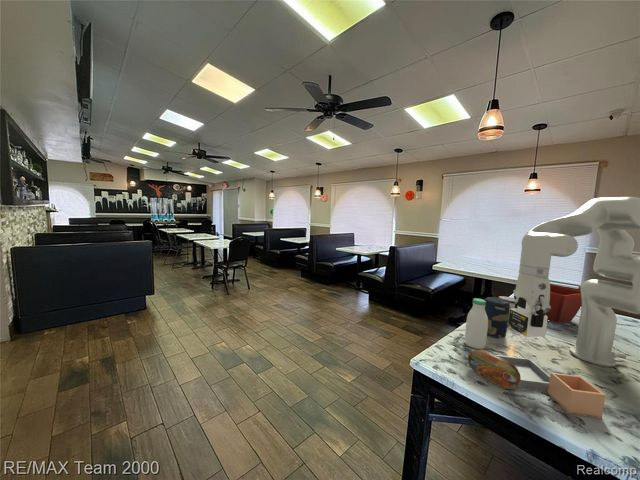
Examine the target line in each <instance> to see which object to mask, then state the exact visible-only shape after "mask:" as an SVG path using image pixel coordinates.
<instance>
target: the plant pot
mask: <svg viewBox="0 0 640 480" xmlns="http://www.w3.org/2000/svg"><path fill="white" fill-rule="evenodd" d="M549 305H550V307H551V309H550V310H549V311H548V313H547V314H546V316H547V317H548V319H547V321H548V320H549V321H548V322H551V323H554V324H560V323H561V324H562V323H567V322H572V321H573V319H574V318H575V317H576V316H577V314H578V313H579V311H580V310H581V305H582V300H581V290H578V289H571V288H567V287H564V286H559V285H555V284H552V283H550V301H549Z"/></svg>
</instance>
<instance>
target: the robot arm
mask: <svg viewBox="0 0 640 480" xmlns="http://www.w3.org/2000/svg"><path fill="white" fill-rule="evenodd" d="M595 231H597V235H598V236H599V244H598V248H597V252H596V256H595V257H594V261H593V262H594V263H593V267H592V269H593V273H595V274H596V275H597V276H601V277H603V278H608V279H613V280H618V281H623V282H629V283H632V285H628V284H624V283H619V282H614V281H609V280H604V279H596V278H594V279H592V278H591V279H588V280H585V281H583V283H581V285H580V291H581V300H582V305H581V307H580V315H579V320H578V321H579V322H578V327H577V334H576V339H575V341H576V342H575V346H570V347H569V353H570V354H571V355H573V356H574V357H576V358H577V359H580V360H582V361H585V362H587V363H590V364H593V365H596V366H601V367H606V368H607V367H608V368H609V367H610V368H611V367H612V368H613V367H616V366H617V361H616V360H615V359H616V358H618V359H626V357H627V356H626V354H625V353H624V352H617V351H615V350H614V349H613V347H614V341H615V335H616V329H617V324H618V319H617V315H616V313H615V312H614V310H613V309H615V310H618V311H622V312H626V313H631V314H634V315H635V314H636V315H640V256H637V255H633V251H634V247H635V241H634V239H633V237H632V235H630V234H629V233H628V232H627V231H640V197H637V196H636V197H635V196H619V197H618V196H615V197H613V196H611V197H608V196H607V197H597V198H593V199H590V200H588V201H586V202H585V203H584V204H582V205H581V206H579V207H578V208H577V209H576V210H574V211H573V212H571V213H569V214H568V215H566V216H562V217H557V218H555V219H551V220H547V221H545V222H542V223H540V224H537V225H535V226H534V227H533V228H531V229H530V230H529V231H528V232H526V233H525V234H524V236H523V237H522V239H521V252H520V259H519V261H520V262H519V268H518V277H517V281H516V285H515V289H513V290H512V291H513V298H514V299H515V301H514V303H515V308H517V306H518V298H519V297H521V298H524V299H525V300H526V301H527V304H528V305H529V306H531V307H532V310H533V313H534V314H532V317H531V324H530V325H531V326H532V327H543V320H544V316H546V314H547V313H548V311H549V310H550V309H551V307H550V305H549V301H550V284H551V282H550V278H549V276H550V267H551V262H552V261H551V260H552V257H558V258H566V257H570V256H572V255H574V254H575V253H576V252H577V251H578V249H579V248H578V247H579V243H578V241H577V239H576V237H583V236H588V235H590V234H592V233H593V232H595ZM535 304H539V305H535ZM536 308H540V309H539V310H538V311H537V309H536Z"/></svg>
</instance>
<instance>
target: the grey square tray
mask: <svg viewBox="0 0 640 480" xmlns="http://www.w3.org/2000/svg"><path fill="white" fill-rule="evenodd" d="M494 355H495V356H497V357H500V358H502V359H504V360H507V361H509V362H511V363H512V364H513V365H514V366H515V367H516V368H517V369H518V371H519V373H520V378H521V379H520V383H519V384H518V385H517V386H516V388H517V387H519V388H524V389H526V388H527V389H532V390H533V389H534V390H538V391H539V390H540V391H546V392H548V388H549V381H550V374H548V373H547V372H546V371H544V369H542V368H541V367H540V366H539V365H538V364H536V362H535V361H533V360H532V359H530V358H525V357H517V356H516V357H515V356H509V355H508V356H507V355H501V354H500V355H499V354H498V355H497V354H494Z"/></svg>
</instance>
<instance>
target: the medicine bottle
mask: <svg viewBox="0 0 640 480" xmlns="http://www.w3.org/2000/svg"><path fill="white" fill-rule="evenodd" d="M535 305H539V304H535ZM536 309H537V311H538V310H539V309H540V308H536ZM532 314H534V313H533V310H532V307H531V306H529V305H528V304H527V301H526V300H525V299H524V298H521V297H519V298H518V306H517V308H511V309H510V315H509V323H508V327H507V328H509V329H510V330H513V331H514V332H516V333H518V334H519V335H522V336H523V337H525V338H532V337H533V338H534V337H535V338H537V337H543V338H545V337H546V332H547V325H548V320H547V319H548V317H547V316H544V320H543V327H532V326H531V325H530V324H531V317H532Z"/></svg>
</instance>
